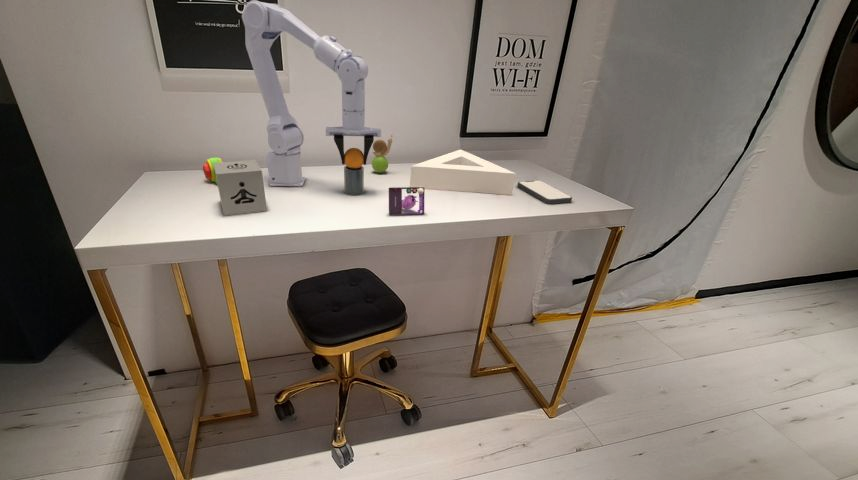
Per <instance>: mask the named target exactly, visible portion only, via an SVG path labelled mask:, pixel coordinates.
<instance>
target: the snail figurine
mask: <svg viewBox="0 0 858 480" xmlns="http://www.w3.org/2000/svg"><path fill="white" fill-rule="evenodd" d="M390 137H391V138H388V139H387V143H386V141H384V140H383V139H376V140H374V141H373V143H372V149H373V151H372V154H373V155H374V156H375V157H373V158H372V160H371V168H372V169H373V171H374V172H376V173H379V174H381V173H382V174H383V173H385V172H386V171H387V170H388V168H389V161H388V159H387V158H386V156H387V155H388V154H389V152H390V150H391V148H392V143H393V139H392V138H393V134H390Z"/></svg>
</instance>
